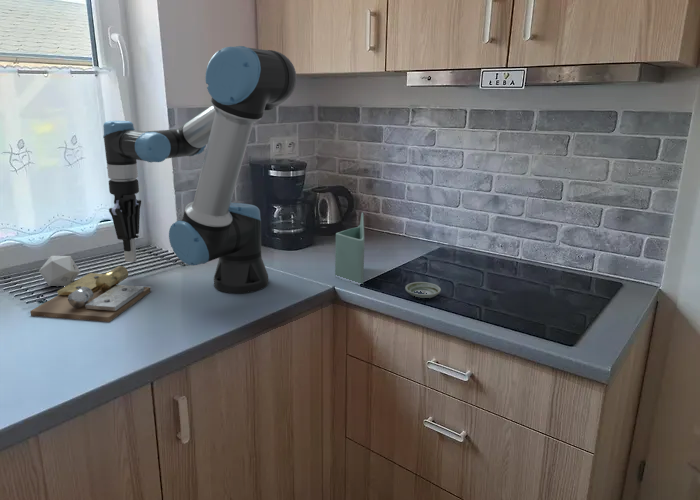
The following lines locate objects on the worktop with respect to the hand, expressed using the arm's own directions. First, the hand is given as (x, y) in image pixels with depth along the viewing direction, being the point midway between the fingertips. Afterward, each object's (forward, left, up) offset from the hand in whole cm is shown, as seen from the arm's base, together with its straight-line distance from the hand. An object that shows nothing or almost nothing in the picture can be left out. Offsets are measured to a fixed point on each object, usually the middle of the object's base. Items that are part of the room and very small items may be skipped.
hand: (130, 260), depth 151 cm
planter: (-61, -13, -5) cm, 63 cm away
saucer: (-83, -2, -6) cm, 84 cm away
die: (+16, +9, -5) cm, 19 cm away
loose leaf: (+4, +12, -4) cm, 13 cm away
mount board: (0, +19, -5) cm, 20 cm away
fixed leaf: (-4, +19, -4) cm, 20 cm away
